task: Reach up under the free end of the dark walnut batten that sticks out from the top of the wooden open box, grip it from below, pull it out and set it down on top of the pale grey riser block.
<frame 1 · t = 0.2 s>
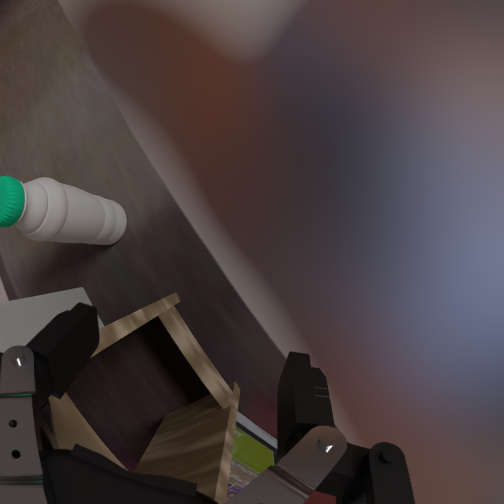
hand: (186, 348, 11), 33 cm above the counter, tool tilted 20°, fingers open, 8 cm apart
white bottle: (109, 223, 45), on the counter
riser block: (77, 320, 44), on the counter
wooden open box: (171, 363, 44), on the counter
tea box: (239, 441, 44), on the counter
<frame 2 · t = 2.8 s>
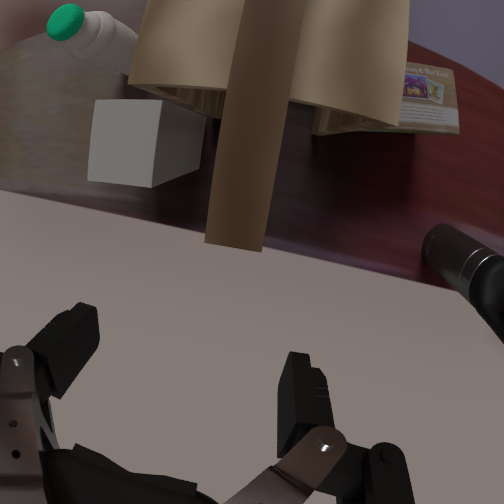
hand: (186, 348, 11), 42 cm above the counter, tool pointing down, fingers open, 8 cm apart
white bottle: (141, 61, 43), on the counter
riser block: (180, 140, 48), on the counter
wooden open box: (273, 86, 44), on the counter
tea box: (376, 105, 44), on the counter
batten: (266, 64, 16), point 32 cm above the counter, touching wooden open box
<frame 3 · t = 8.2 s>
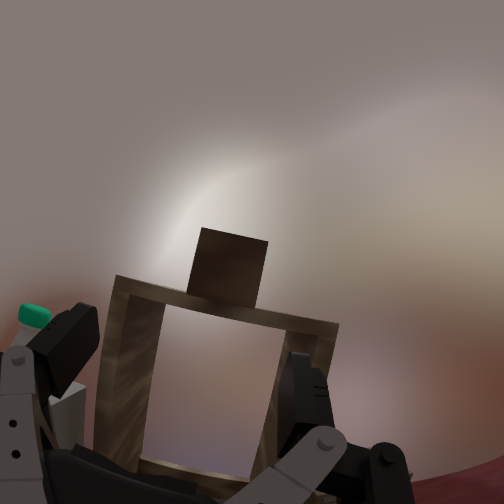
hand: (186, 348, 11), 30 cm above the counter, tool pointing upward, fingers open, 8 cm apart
white bottle: (32, 462, 26), on the counter
batten: (226, 301, 24), point 32 cm above the counter, touching wooden open box
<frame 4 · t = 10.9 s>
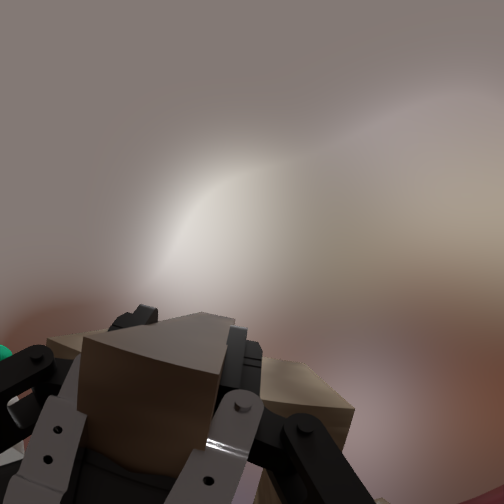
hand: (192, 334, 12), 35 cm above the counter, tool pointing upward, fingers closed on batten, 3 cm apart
white bottle: (12, 502, 18), on the counter
batten: (194, 376, 16), point 32 cm above the counter, touching gripper, wooden open box
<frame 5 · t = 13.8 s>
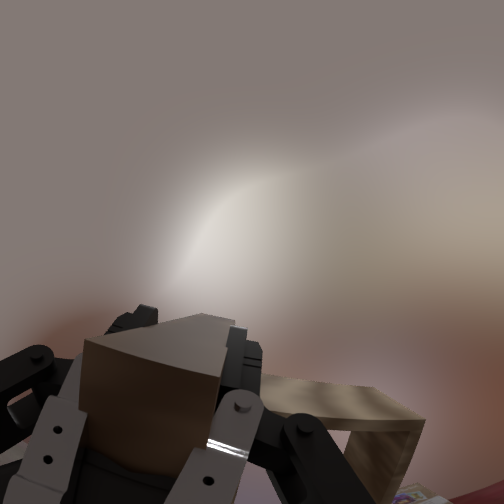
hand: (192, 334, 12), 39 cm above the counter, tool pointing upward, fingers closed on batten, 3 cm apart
batten: (194, 377, 16), point 36 cm above the counter, touching gripper
when the fingers open (25 cm above the counter, at t = 17.0 s): batten stays where it is, resting on riser block.
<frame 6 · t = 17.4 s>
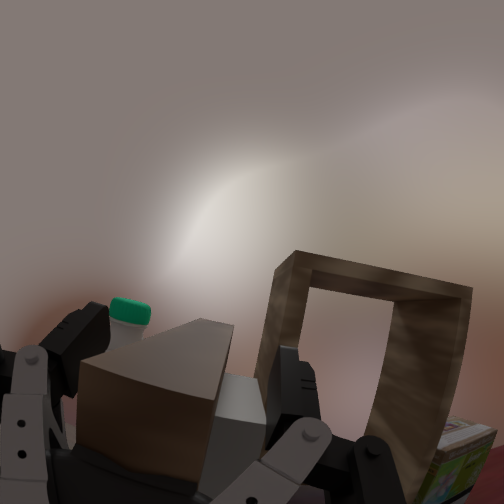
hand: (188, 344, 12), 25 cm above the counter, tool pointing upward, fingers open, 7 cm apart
white bottle: (112, 481, 27), on the counter
batten: (193, 385, 16), point 22 cm above the counter, touching riser block
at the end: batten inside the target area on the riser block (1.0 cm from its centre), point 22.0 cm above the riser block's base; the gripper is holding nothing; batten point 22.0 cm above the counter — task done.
